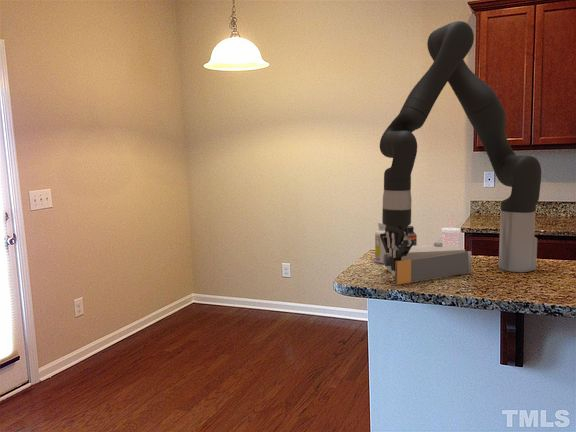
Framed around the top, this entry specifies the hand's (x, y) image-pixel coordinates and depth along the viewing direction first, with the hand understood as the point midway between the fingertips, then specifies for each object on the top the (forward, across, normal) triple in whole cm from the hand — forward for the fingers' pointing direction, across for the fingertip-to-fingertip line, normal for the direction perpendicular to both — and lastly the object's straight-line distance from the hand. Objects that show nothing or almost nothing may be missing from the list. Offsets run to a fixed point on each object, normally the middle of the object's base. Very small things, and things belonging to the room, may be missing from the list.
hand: (395, 270), depth 136 cm
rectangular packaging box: (+3, +6, -14) cm, 16 cm away
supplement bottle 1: (+4, +22, -11) cm, 25 cm away
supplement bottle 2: (+4, +20, -18) cm, 27 cm away
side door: (+3, -2, -11) cm, 12 cm away
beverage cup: (+3, +21, -36) cm, 41 cm away
